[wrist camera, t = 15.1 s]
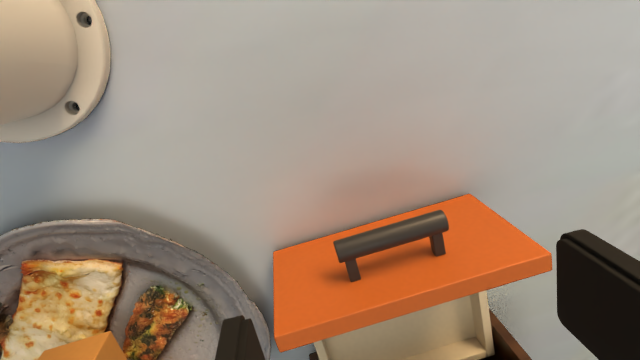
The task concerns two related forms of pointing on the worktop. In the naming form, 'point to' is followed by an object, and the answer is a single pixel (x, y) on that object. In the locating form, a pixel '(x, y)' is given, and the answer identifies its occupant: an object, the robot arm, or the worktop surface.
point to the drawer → (402, 285)
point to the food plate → (114, 292)
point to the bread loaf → (87, 349)
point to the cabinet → (506, 348)
